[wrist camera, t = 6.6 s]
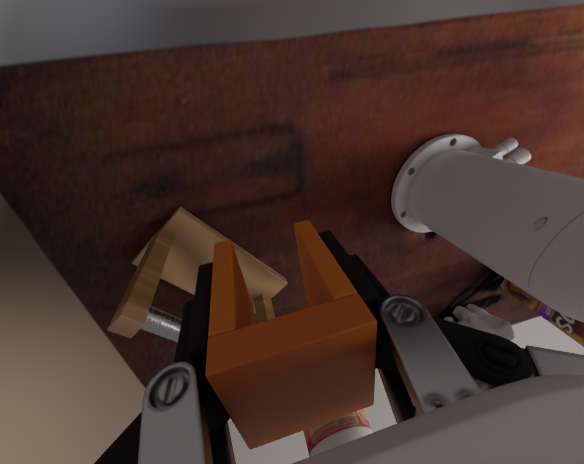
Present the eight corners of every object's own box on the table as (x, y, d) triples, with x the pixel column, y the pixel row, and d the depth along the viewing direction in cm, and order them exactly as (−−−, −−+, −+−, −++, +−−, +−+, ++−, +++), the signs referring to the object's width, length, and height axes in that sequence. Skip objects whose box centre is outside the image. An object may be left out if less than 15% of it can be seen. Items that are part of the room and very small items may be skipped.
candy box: (519, 246, 42) (650, 314, 29) (538, 244, 43) (673, 308, 30) (497, 286, 47) (602, 361, 34) (514, 283, 48) (624, 355, 35)
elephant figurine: (435, 302, 44) (478, 344, 37) (487, 293, 47) (538, 332, 39) (419, 338, 49) (455, 382, 41) (468, 328, 52) (510, 368, 44)
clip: (309, 219, 10) (378, 321, 6) (318, 288, 12) (374, 405, 8) (213, 243, 10) (204, 376, 5) (239, 311, 12) (249, 451, 7)
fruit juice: (349, 353, 46) (485, 637, 22) (317, 384, 48) (409, 668, 24) (311, 341, 41) (430, 679, 18) (278, 376, 44) (344, 712, 20)
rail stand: (180, 205, 25) (150, 282, 15) (286, 277, 33) (314, 360, 23) (134, 257, 27) (78, 359, 17) (246, 314, 35) (255, 408, 25)
